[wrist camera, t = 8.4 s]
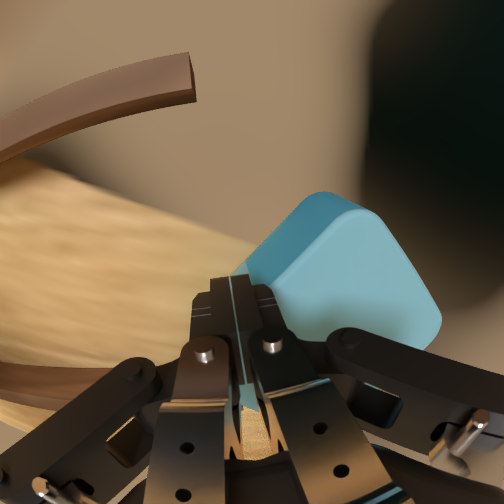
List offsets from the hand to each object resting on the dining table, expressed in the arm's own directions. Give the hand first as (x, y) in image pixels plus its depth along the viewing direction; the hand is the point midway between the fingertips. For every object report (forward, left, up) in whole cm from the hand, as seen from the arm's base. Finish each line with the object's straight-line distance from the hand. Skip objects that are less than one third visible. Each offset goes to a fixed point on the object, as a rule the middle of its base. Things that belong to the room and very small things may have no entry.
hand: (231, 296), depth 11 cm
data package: (0, +1, -2) cm, 3 cm away
